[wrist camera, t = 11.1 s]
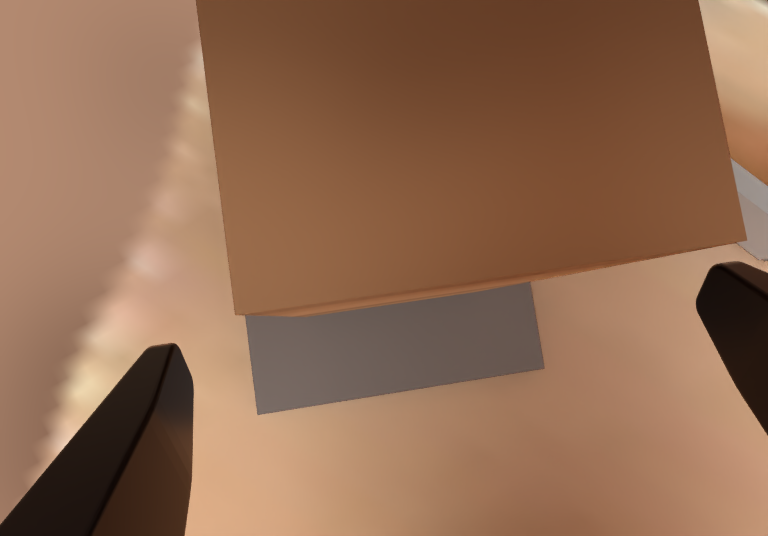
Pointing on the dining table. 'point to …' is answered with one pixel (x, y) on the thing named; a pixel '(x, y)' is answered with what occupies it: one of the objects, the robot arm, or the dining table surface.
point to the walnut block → (457, 144)
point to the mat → (392, 348)
